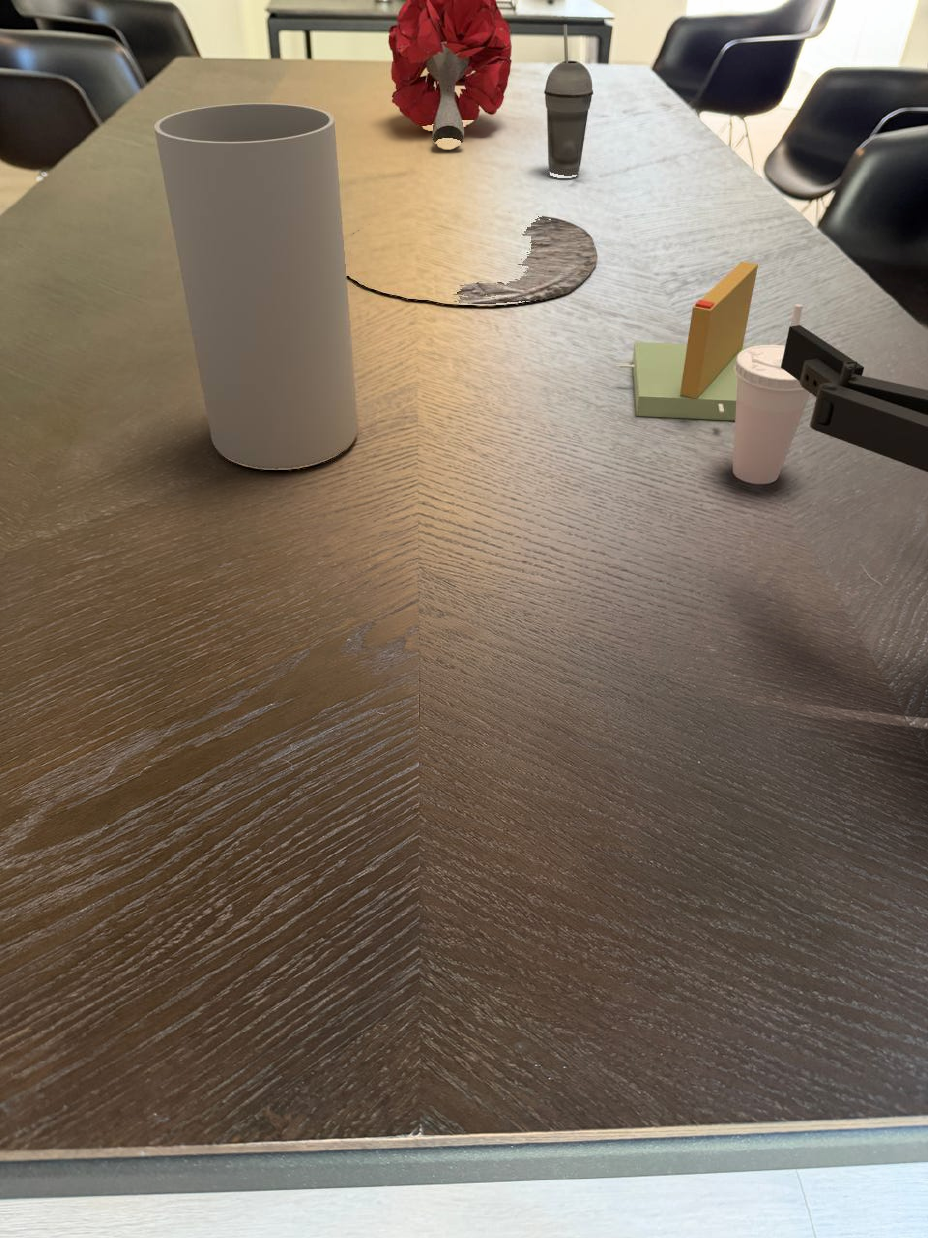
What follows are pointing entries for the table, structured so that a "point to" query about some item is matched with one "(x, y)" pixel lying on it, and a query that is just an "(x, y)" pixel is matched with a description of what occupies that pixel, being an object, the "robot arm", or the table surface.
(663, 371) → the flat green base panel
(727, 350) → the red-tabbed upright panel
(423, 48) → the bouquet
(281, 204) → the cylinder vase
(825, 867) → the table surface
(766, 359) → the smoothie
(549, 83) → the beverage cup
